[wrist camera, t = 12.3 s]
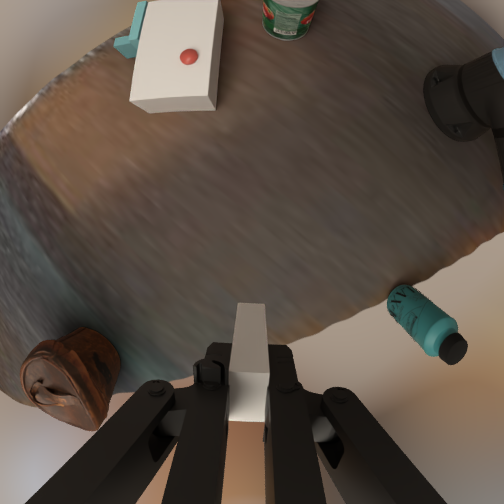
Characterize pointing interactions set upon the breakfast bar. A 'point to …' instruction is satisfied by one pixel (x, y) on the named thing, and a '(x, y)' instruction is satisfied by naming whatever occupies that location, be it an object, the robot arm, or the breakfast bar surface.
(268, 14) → the canned tomato
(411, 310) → the beverage bottle
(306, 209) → the breakfast bar surface
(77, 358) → the brown tapered cylinder
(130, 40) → the door
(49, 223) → the breakfast bar surface
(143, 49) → the block
